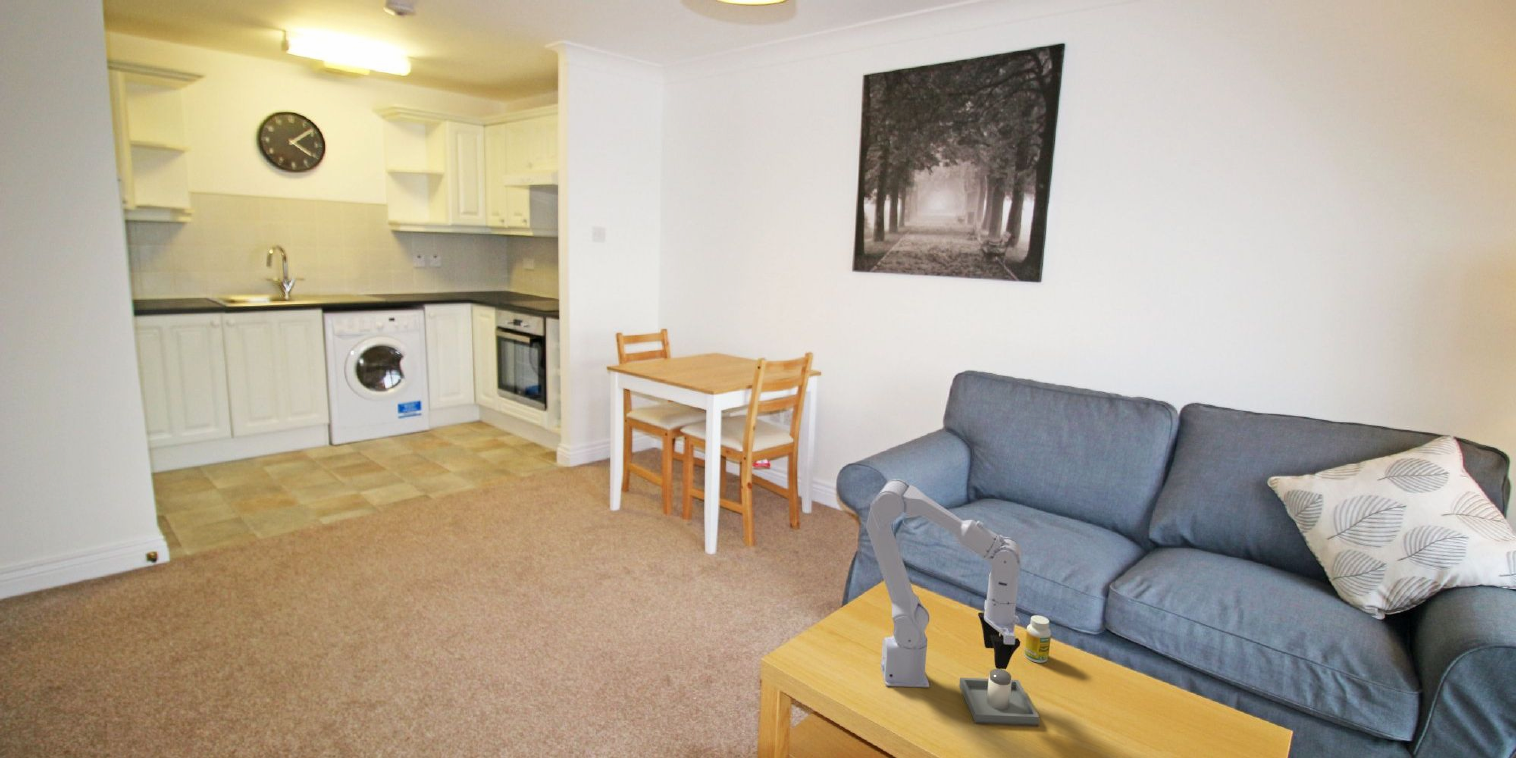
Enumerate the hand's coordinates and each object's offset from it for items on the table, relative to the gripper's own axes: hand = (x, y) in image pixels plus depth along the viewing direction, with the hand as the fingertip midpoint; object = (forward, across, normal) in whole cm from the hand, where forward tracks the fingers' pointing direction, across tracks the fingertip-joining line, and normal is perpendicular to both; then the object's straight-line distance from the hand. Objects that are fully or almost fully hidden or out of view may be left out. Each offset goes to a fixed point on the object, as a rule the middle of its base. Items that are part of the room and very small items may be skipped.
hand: (995, 657), depth 152 cm
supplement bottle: (+10, +17, -15) cm, 24 cm away
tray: (+9, -2, 0) cm, 10 cm away
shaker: (+9, -2, -1) cm, 9 cm away
